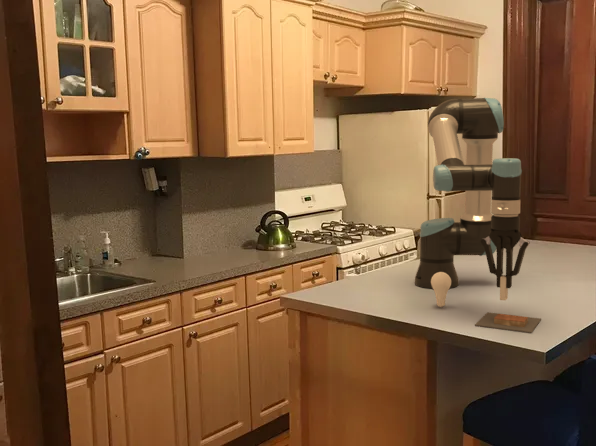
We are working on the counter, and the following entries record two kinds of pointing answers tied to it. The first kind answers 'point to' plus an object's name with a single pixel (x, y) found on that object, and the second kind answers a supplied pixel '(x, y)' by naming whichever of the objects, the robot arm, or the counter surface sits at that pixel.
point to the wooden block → (511, 320)
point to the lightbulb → (441, 287)
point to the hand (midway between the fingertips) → (503, 299)
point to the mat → (489, 323)
